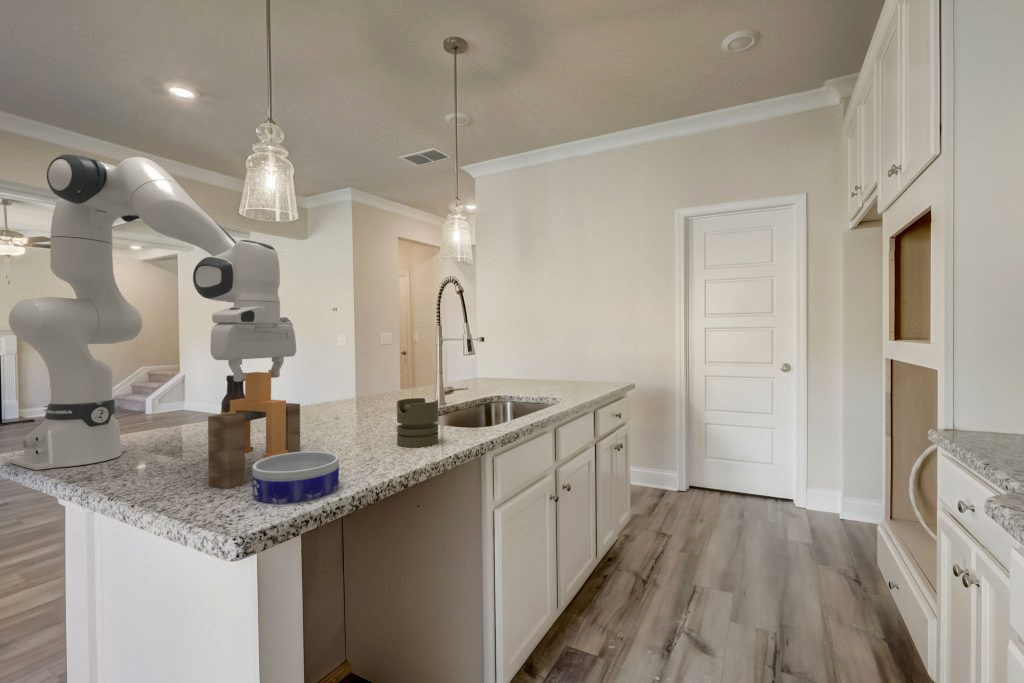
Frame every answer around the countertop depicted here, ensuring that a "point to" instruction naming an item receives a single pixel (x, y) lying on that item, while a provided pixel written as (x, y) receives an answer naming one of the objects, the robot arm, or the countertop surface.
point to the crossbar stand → (240, 444)
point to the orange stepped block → (261, 402)
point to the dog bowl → (295, 477)
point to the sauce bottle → (232, 393)
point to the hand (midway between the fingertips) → (257, 379)
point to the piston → (417, 423)
